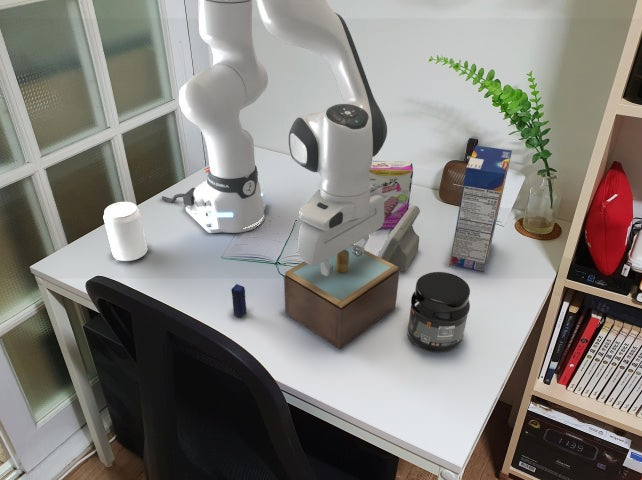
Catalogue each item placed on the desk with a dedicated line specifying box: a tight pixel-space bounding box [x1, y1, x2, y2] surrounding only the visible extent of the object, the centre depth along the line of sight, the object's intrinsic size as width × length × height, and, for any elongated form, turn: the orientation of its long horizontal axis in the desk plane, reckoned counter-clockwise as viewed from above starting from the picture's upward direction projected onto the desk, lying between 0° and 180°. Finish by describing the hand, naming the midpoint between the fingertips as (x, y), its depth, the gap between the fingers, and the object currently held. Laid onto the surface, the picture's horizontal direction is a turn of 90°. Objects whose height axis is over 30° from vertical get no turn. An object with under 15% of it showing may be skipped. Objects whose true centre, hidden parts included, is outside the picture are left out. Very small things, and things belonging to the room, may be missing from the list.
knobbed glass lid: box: [284, 244, 398, 308], centre depth 108 cm, size 15×17×4 cm
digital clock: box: [376, 204, 421, 272], centre depth 127 cm, size 16×9×11 cm, turn 140°
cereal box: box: [449, 145, 513, 273], centre depth 123 cm, size 12×8×24 cm, turn 156°
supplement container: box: [407, 271, 471, 353], centre depth 105 cm, size 10×10×12 cm
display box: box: [283, 270, 400, 350], centre depth 112 cm, size 15×17×10 cm
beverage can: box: [103, 201, 149, 262], centre depth 130 cm, size 8×8×12 cm
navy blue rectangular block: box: [231, 283, 247, 318], centre depth 113 cm, size 2×2×7 cm
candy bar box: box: [369, 160, 414, 230], centre depth 137 cm, size 11×5×16 cm, turn 84°
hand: (342, 263), depth 108 cm, fingers open, 8 cm apart
